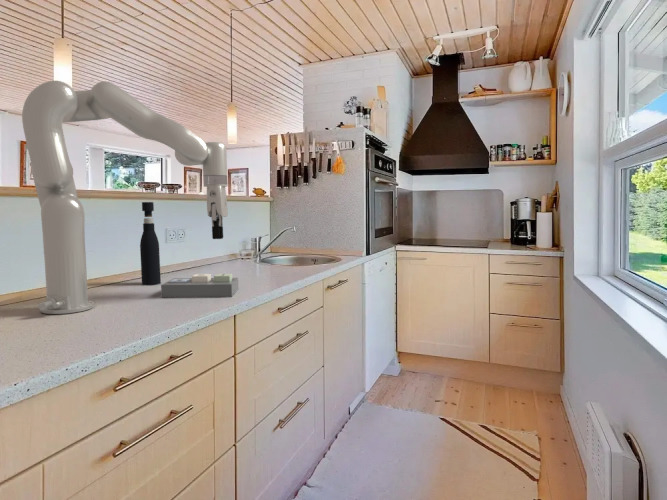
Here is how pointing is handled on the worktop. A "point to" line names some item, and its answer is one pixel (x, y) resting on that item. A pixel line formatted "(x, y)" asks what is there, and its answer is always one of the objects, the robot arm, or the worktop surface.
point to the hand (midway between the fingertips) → (217, 238)
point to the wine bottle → (149, 249)
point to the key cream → (201, 278)
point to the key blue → (180, 281)
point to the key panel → (199, 289)
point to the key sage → (222, 278)
